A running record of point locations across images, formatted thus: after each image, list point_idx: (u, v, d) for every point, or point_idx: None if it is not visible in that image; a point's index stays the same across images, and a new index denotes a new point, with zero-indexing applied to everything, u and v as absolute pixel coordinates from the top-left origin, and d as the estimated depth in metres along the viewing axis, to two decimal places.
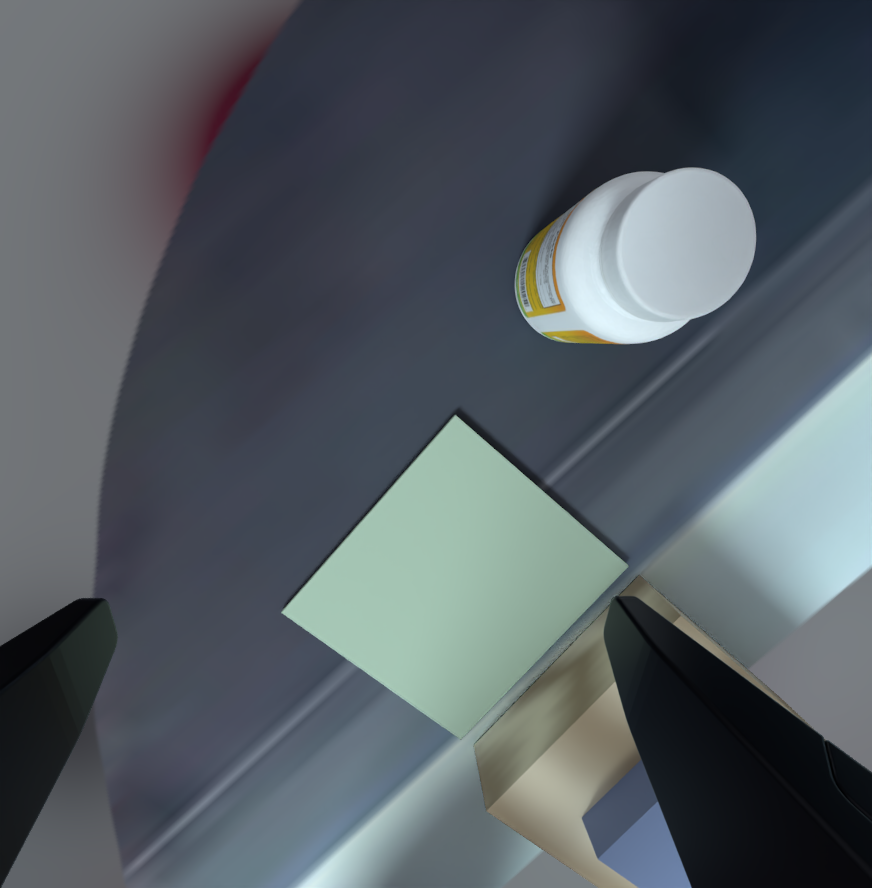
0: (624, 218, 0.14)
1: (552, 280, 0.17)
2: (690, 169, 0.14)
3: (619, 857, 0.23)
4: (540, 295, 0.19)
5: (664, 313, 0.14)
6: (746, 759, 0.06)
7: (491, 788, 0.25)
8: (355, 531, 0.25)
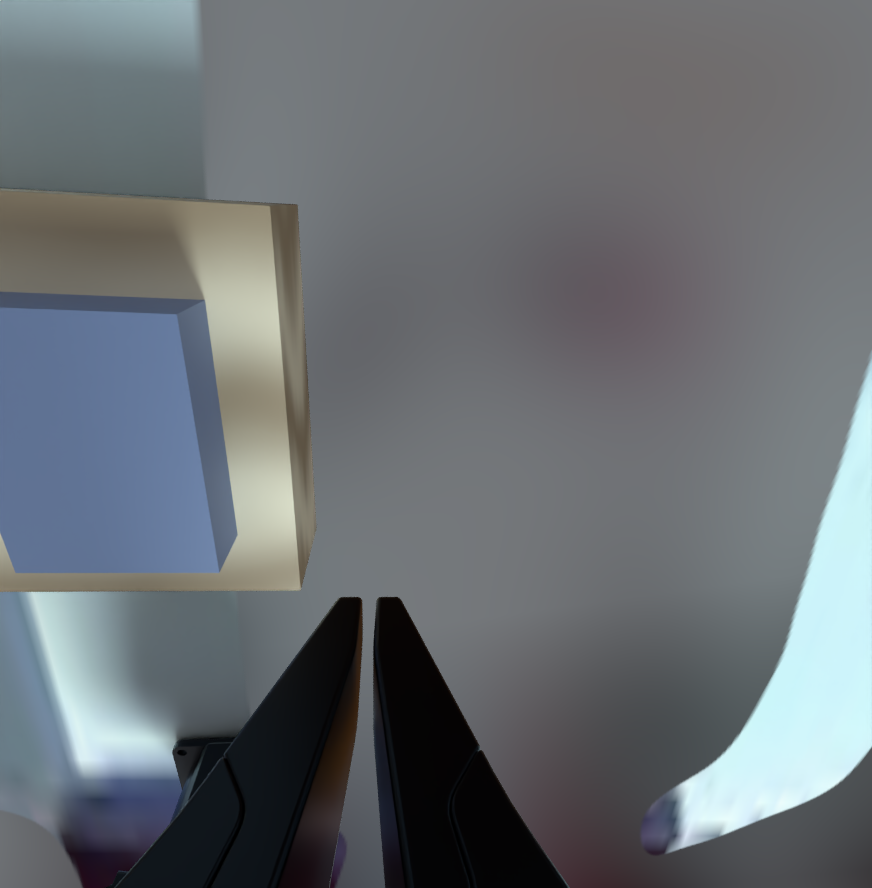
0: None
1: None
2: None
3: (35, 555, 0.15)
4: None
5: None
6: (388, 770, 0.06)
7: None
8: None
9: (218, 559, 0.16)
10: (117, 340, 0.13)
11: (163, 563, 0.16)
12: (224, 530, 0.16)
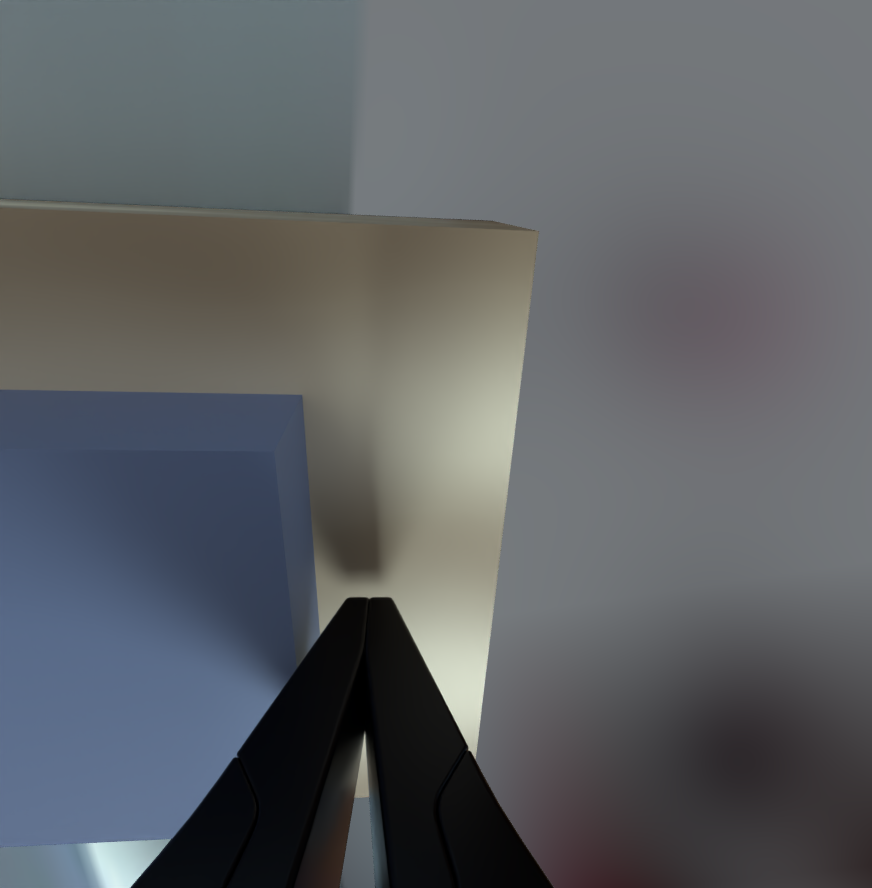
0: None
1: None
2: None
3: (6, 825, 0.09)
4: None
5: None
6: (376, 771, 0.06)
7: None
8: None
9: None
10: (151, 501, 0.06)
11: None
12: None
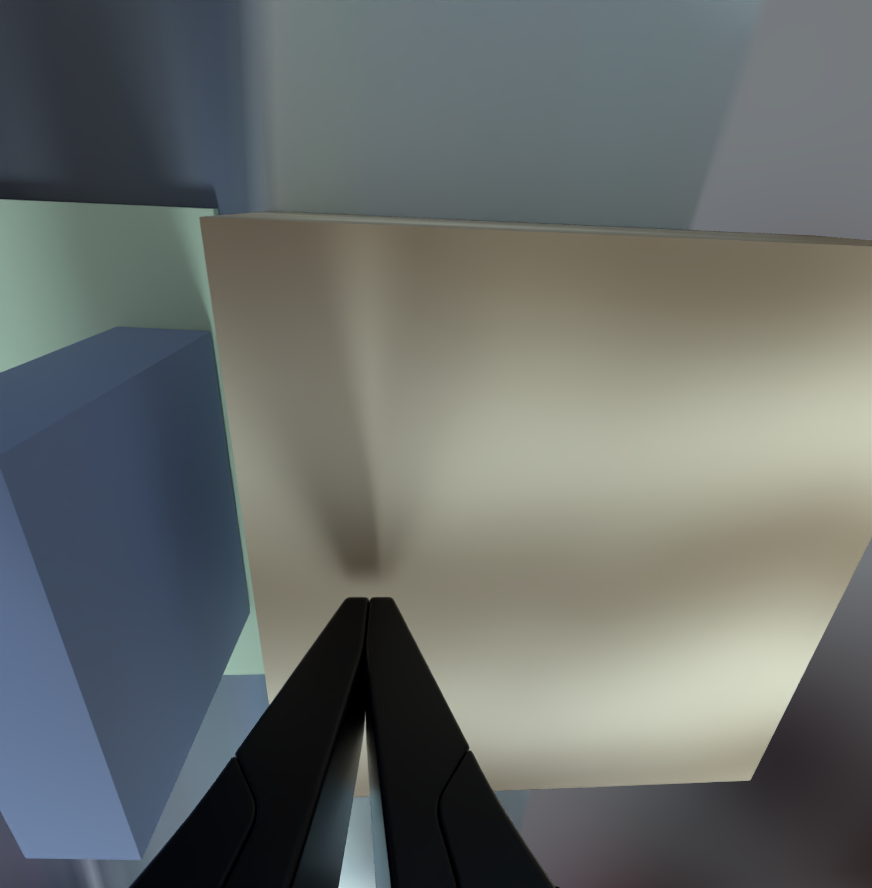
0: None
1: None
2: None
3: None
4: None
5: None
6: (377, 770, 0.06)
7: None
8: None
9: (24, 844, 0.09)
10: None
11: None
12: (62, 827, 0.09)
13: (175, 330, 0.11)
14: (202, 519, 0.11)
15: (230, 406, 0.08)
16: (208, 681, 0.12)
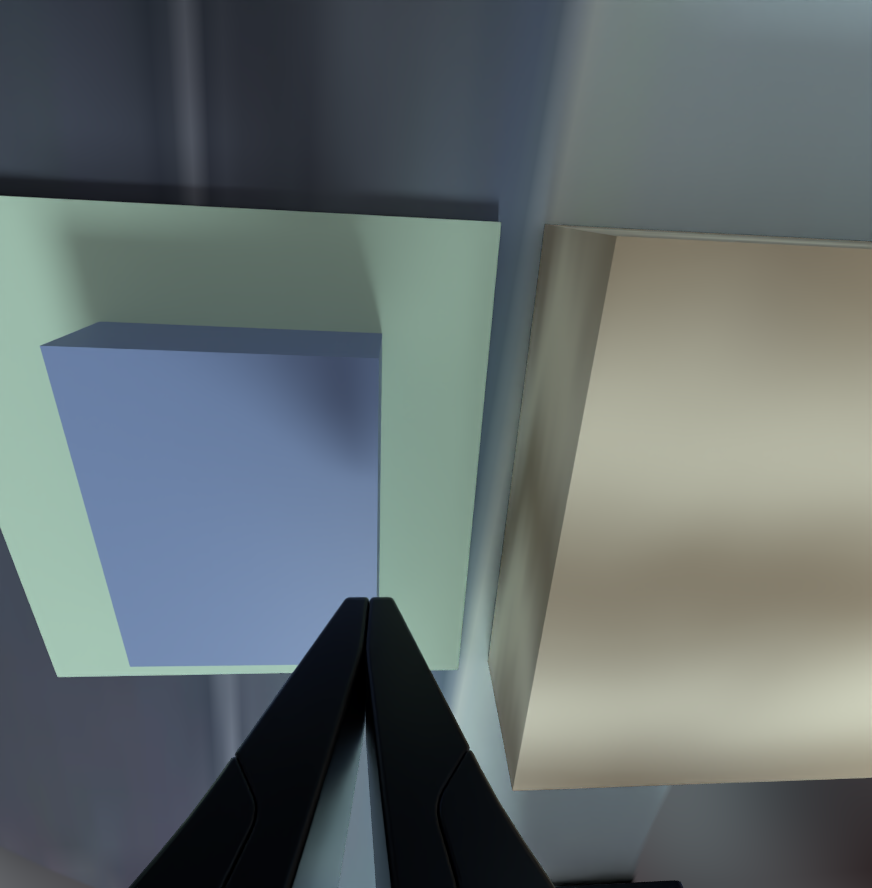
0: None
1: None
2: None
3: None
4: None
5: None
6: (377, 771, 0.06)
7: (508, 745, 0.13)
8: (1, 519, 0.13)
9: None
10: None
11: None
12: None
13: (375, 348, 0.10)
14: (294, 521, 0.11)
15: (586, 413, 0.08)
16: (262, 648, 0.12)
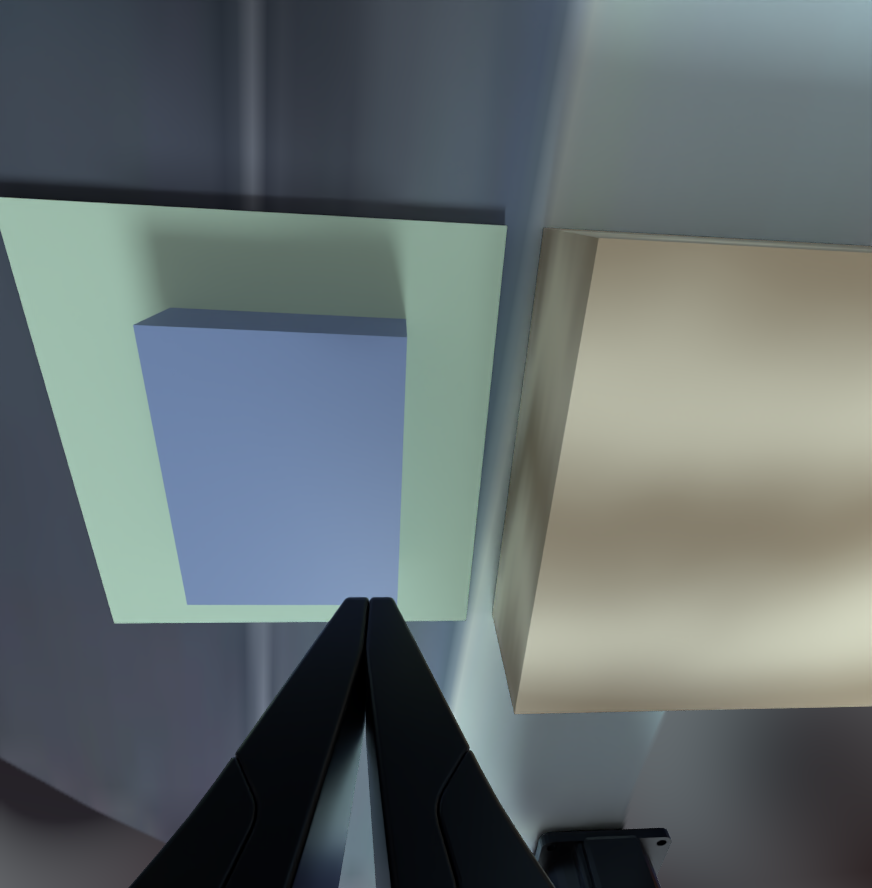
0: None
1: None
2: None
3: None
4: None
5: None
6: (377, 770, 0.06)
7: (511, 677, 0.15)
8: (75, 479, 0.15)
9: None
10: None
11: None
12: None
13: (402, 330, 0.12)
14: (332, 475, 0.13)
15: (576, 379, 0.11)
16: (301, 589, 0.15)
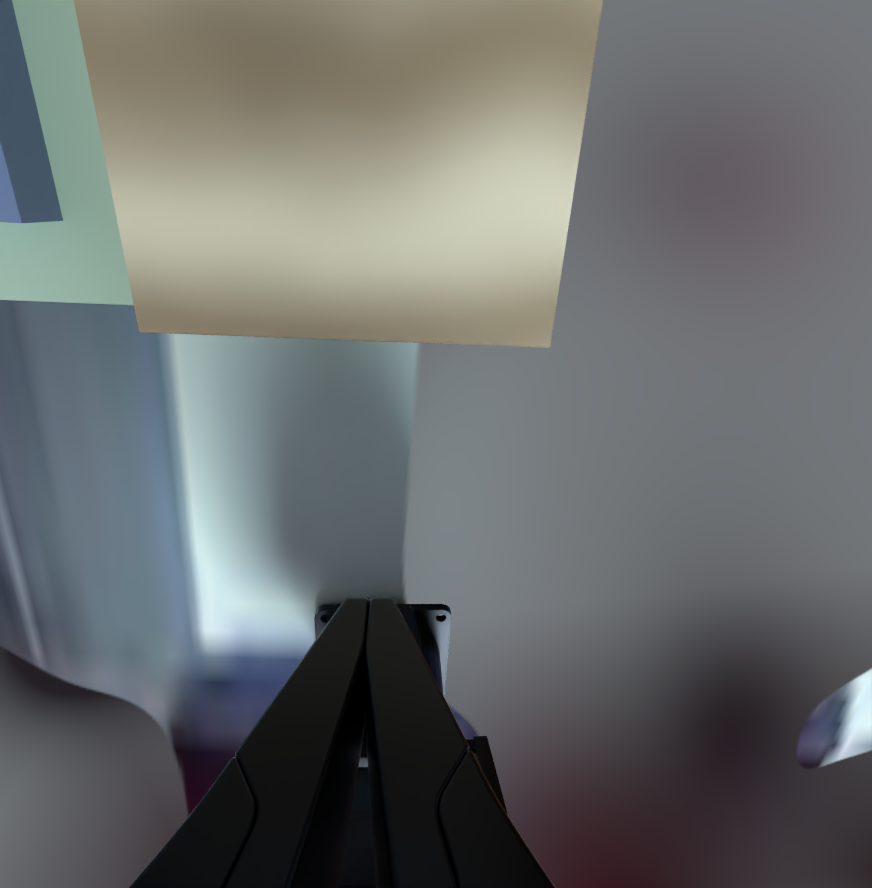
0: None
1: None
2: None
3: None
4: None
5: None
6: (377, 771, 0.06)
7: None
8: None
9: None
10: None
11: None
12: None
13: None
14: None
15: None
16: None
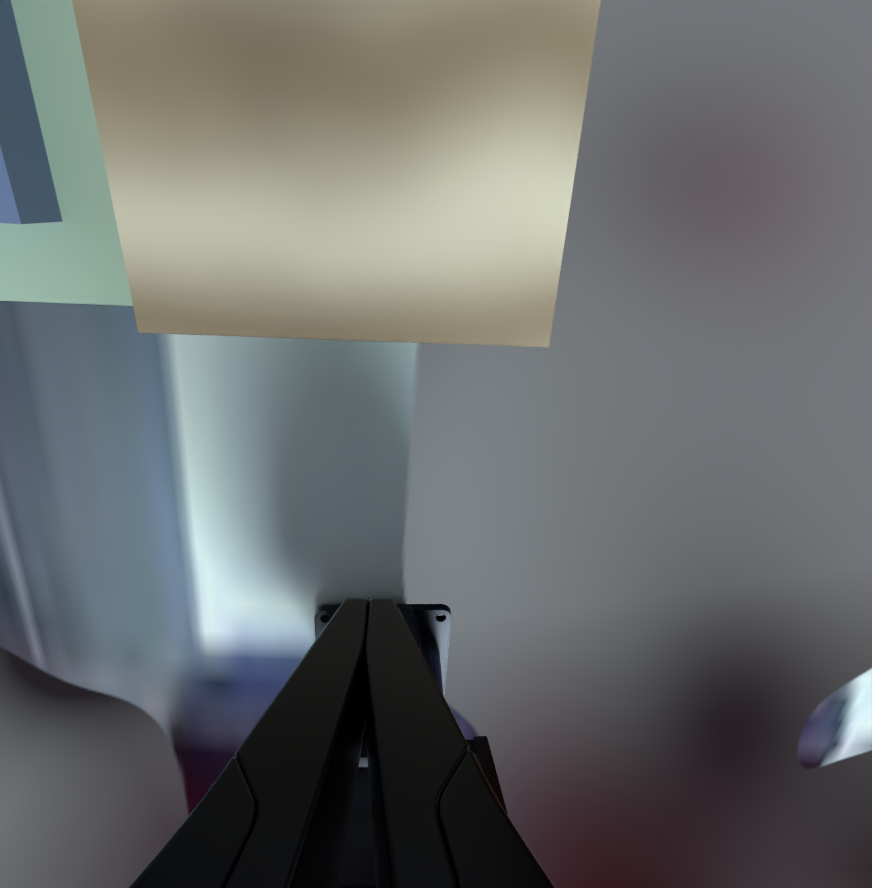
0: None
1: None
2: None
3: None
4: None
5: None
6: (377, 771, 0.06)
7: None
8: None
9: None
10: None
11: None
12: None
13: None
14: None
15: None
16: None
